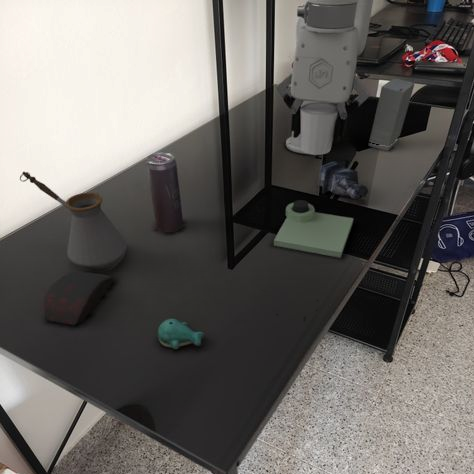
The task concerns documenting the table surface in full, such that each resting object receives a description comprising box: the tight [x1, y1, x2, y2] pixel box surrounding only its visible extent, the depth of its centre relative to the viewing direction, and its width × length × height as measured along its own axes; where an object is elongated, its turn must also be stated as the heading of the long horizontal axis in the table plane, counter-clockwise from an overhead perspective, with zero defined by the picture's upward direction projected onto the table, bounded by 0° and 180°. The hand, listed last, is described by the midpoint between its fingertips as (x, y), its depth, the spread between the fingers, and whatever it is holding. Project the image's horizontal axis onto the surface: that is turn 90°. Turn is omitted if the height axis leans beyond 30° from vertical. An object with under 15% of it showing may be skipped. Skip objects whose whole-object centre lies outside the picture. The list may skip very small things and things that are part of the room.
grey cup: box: [300, 103, 339, 156], centre depth 78 cm, size 7×7×7 cm
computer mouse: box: [43, 271, 114, 326], centre depth 77 cm, size 8×14×4 cm, turn 165°
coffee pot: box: [19, 171, 128, 273], centre depth 83 cm, size 21×12×15 cm, turn 59°
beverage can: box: [145, 152, 184, 234], centre depth 90 cm, size 6×6×15 cm
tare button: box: [292, 199, 309, 213], centre depth 94 cm, size 3×3×2 cm
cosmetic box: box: [368, 78, 415, 152], centre depth 120 cm, size 8×7×16 cm
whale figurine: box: [157, 318, 205, 350], centre depth 69 cm, size 6×7×4 cm
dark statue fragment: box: [317, 160, 369, 201], centre depth 102 cm, size 6×13×6 cm, turn 43°
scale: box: [273, 202, 354, 259], centre depth 91 cm, size 15×14×3 cm
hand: (316, 136), depth 79 cm, fingers closed on grey cup, 6 cm apart
